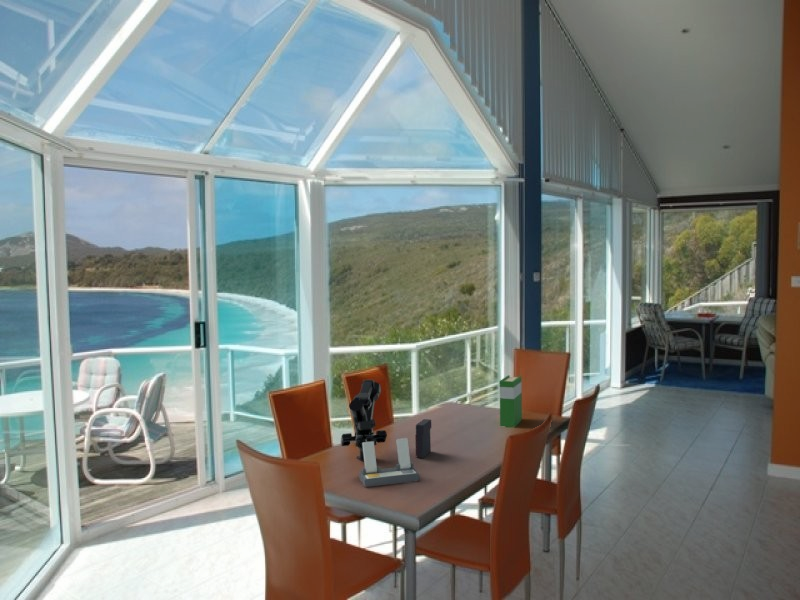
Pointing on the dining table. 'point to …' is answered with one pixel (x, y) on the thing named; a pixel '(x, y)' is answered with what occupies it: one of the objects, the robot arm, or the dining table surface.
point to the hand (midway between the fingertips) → (367, 456)
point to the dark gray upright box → (423, 438)
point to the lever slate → (403, 453)
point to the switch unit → (388, 476)
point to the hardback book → (510, 401)
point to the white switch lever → (369, 457)
